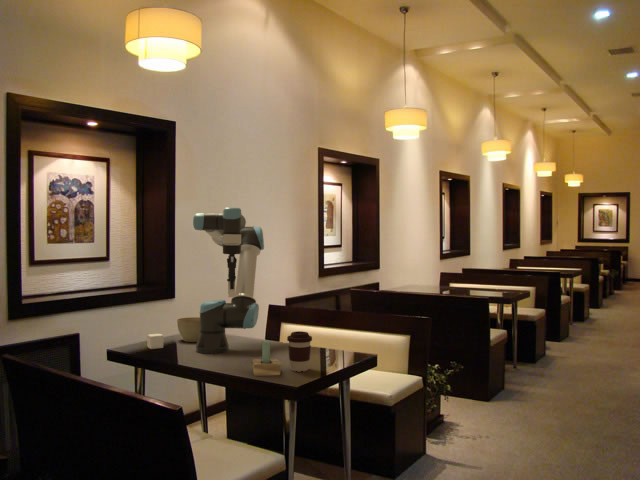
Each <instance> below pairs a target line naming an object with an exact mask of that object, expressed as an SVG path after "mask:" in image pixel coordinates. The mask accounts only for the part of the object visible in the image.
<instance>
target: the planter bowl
mask: <svg viewBox="0 0 640 480" xmlns="http://www.w3.org/2000/svg"><path fill="white" fill-rule="evenodd" d="M176 322H177V329H178V332H179V334H180V336H181V338H182V339H183V341H184V342H188V343H189V342H190V343H194V342H196V343H197V342H198V339H199V336H200V316H197V317H196V316H195V317H194V316H193V317H189V316H188V317H181V318H180V317H179V318H177V319H176Z"/></svg>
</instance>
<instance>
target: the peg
mask: <svg viewBox="0 0 640 480" xmlns="http://www.w3.org/2000/svg"><path fill="white" fill-rule="evenodd" d="M261 347H262V351H261V352H262V353H261V354H262V355H261V356H262V357H261V358H262V363H270V359H271V341H270V340H269V341H268V340H264V341H262V344H261Z"/></svg>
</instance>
